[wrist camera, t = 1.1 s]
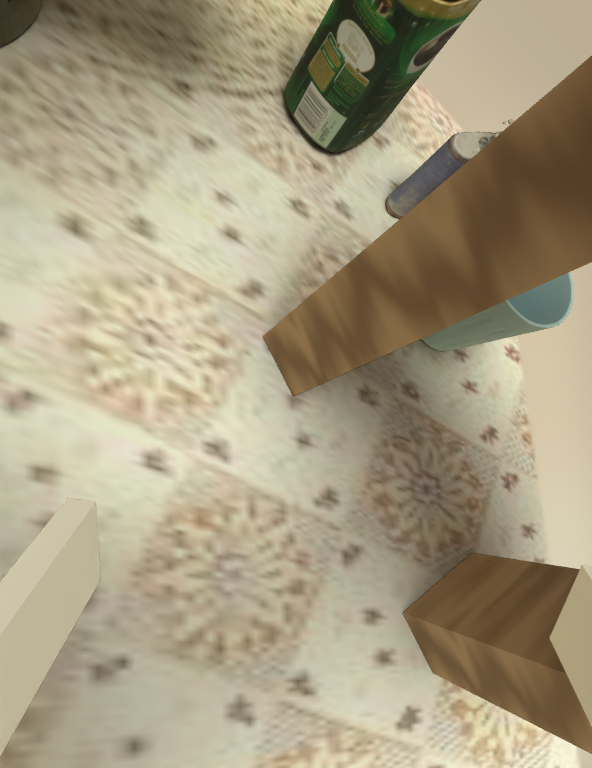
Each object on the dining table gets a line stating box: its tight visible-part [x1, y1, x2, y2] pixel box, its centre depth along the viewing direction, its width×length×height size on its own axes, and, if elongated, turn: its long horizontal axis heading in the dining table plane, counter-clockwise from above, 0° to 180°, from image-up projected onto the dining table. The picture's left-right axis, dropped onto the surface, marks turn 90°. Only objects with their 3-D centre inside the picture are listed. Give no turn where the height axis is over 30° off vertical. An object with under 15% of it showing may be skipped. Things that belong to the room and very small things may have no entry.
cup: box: [422, 272, 574, 351], centre depth 39 cm, size 8×8×10 cm
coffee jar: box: [285, 0, 481, 152], centre depth 35 cm, size 10×8×19 cm
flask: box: [386, 119, 515, 219], centre depth 41 cm, size 9×3×11 cm, turn 101°
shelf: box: [263, 56, 592, 754], centre depth 24 cm, size 28×12×30 cm, turn 29°
